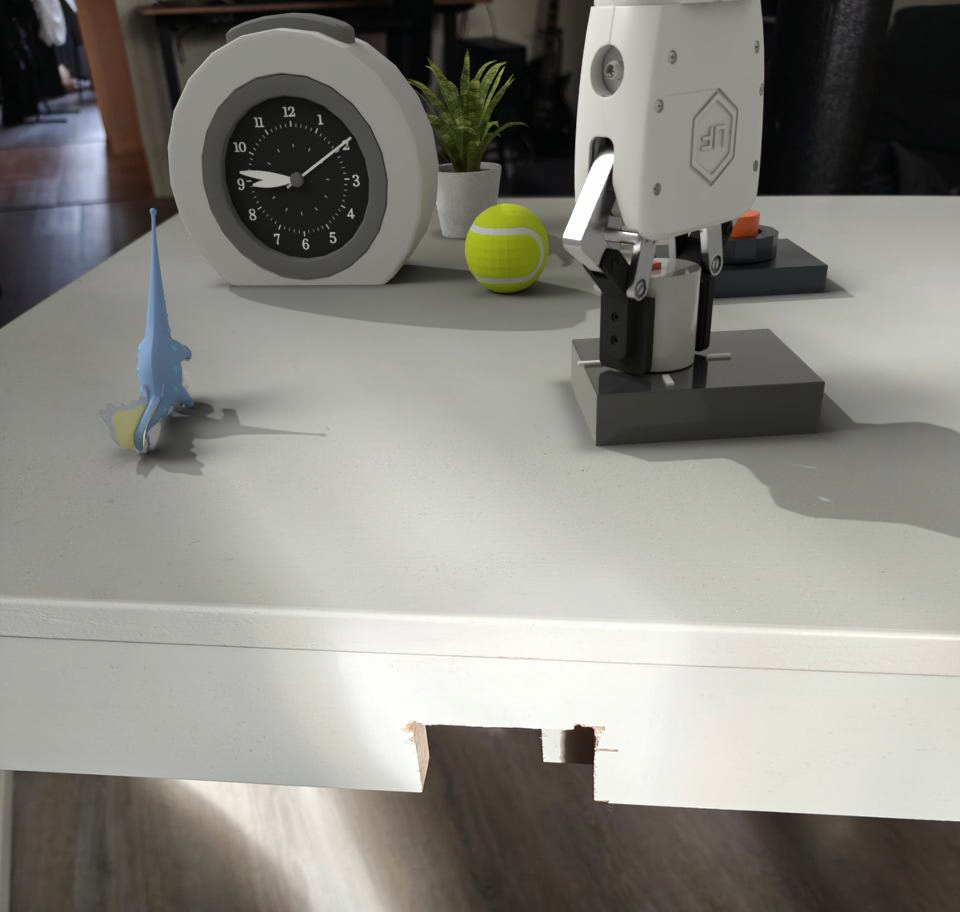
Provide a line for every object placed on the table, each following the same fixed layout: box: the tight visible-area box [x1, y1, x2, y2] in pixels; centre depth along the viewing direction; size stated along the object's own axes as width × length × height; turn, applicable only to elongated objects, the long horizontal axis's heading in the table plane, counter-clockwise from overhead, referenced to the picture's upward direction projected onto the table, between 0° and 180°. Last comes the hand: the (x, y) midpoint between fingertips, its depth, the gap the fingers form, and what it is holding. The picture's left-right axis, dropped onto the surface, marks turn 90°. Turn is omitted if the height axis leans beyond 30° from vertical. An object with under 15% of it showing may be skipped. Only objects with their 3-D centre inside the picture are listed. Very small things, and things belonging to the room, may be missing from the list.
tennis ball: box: [464, 203, 550, 294], centre depth 81 cm, size 7×7×7 cm
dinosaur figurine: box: [98, 207, 195, 455], centre depth 58 cm, size 3×15×10 cm
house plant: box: [405, 48, 530, 239], centre depth 99 cm, size 14×14×16 cm
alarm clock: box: [167, 12, 440, 286], centre depth 85 cm, size 21×8×20 cm, turn 82°
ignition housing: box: [654, 224, 829, 300], centre depth 81 cm, size 12×10×4 cm
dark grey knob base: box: [570, 328, 826, 447], centre depth 58 cm, size 12×10×3 cm
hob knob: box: [627, 258, 701, 372], centre depth 56 cm, size 4×4×5 cm
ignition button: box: [730, 208, 761, 237], centre depth 80 cm, size 4×4×2 cm
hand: (654, 354), depth 57 cm, fingers closed on hob knob, 4 cm apart
